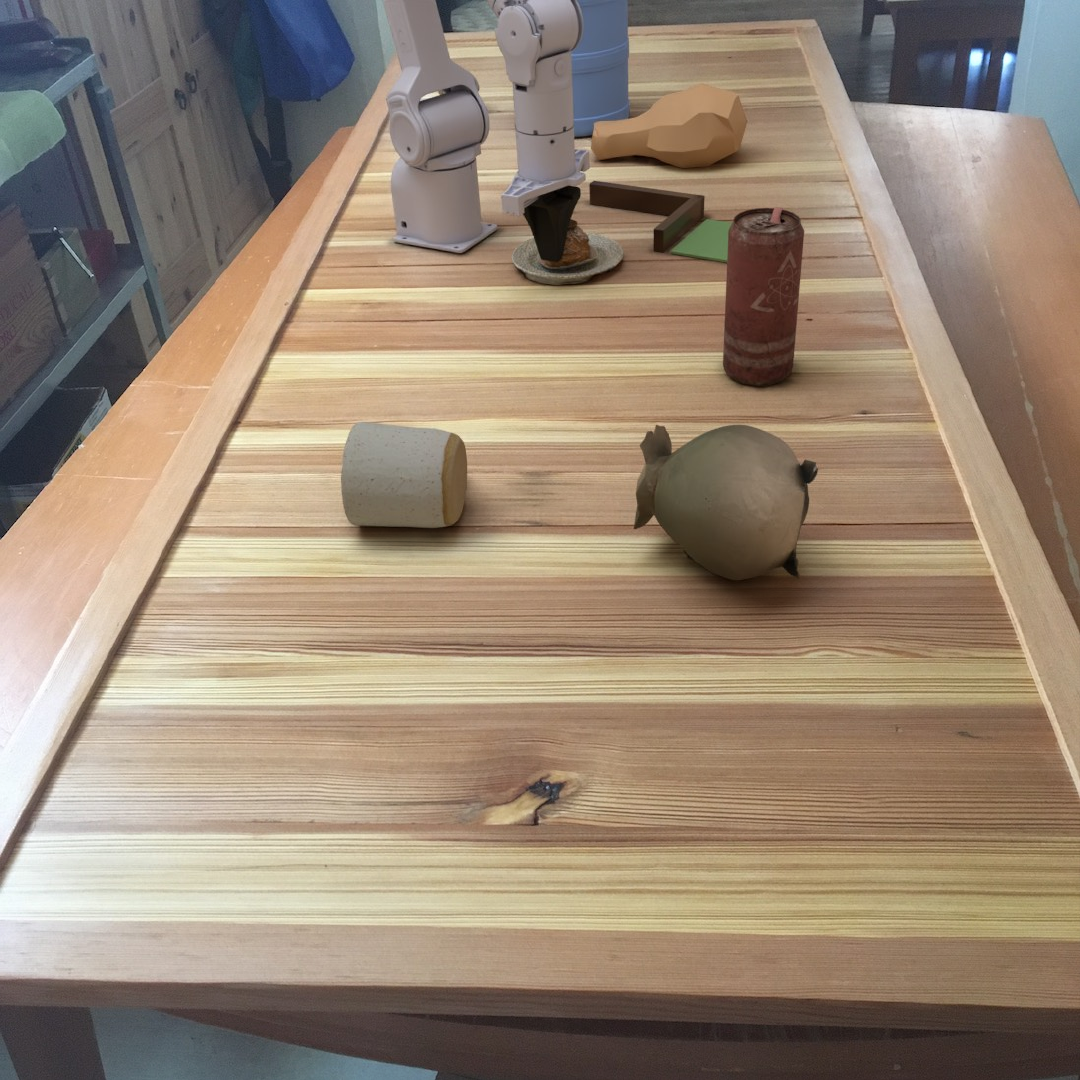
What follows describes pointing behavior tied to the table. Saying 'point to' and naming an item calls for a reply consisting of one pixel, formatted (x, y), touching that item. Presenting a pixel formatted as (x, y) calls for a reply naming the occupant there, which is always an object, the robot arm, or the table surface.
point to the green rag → (706, 242)
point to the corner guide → (653, 208)
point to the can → (762, 295)
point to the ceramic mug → (403, 476)
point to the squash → (678, 129)
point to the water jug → (601, 65)
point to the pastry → (569, 258)
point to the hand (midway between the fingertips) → (551, 259)
